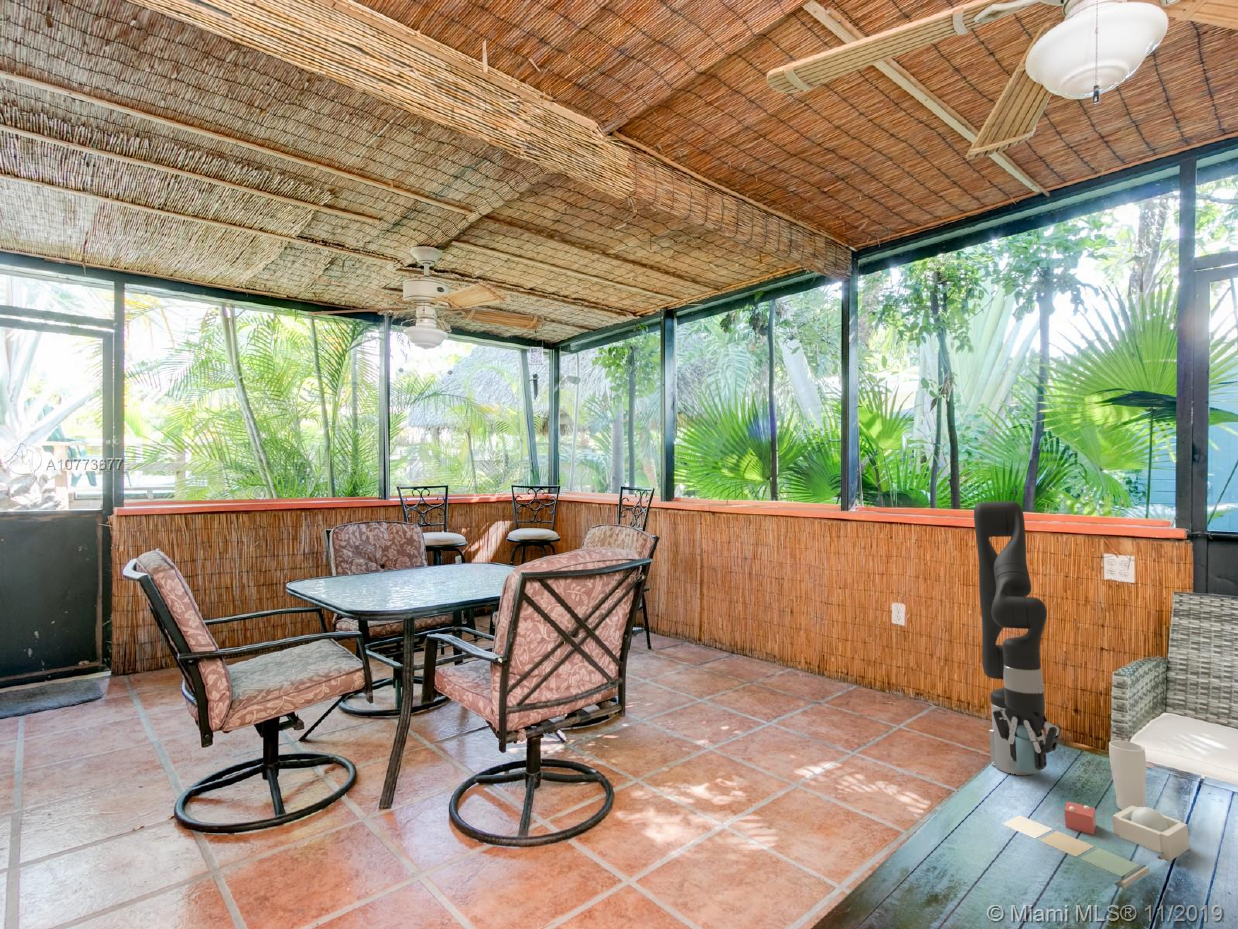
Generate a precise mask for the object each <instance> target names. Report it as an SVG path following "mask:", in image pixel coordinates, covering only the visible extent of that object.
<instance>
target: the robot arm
mask: <svg viewBox="0 0 1238 929" xmlns="http://www.w3.org/2000/svg"><path fill="white" fill-rule="evenodd" d="M973 523H974V531H975V538H976V545H977V547H976V548H977V554H978V555H977V556H978V582H979V583H978V585H979V586H978V587H979V591H978V592H979V604H980V613H981V625H982V626H981V631H982V632H981V633H982V634H981V636H982V637H981V639H982V640H981V661H982V663H981V664H982V665H981V666H982V670H983V673H984V674H985V676H986V677H988V678H990V679H995V680H1003V687H1002V688H997V689H994V690H992V691H991V693H990V708H991V710H990V711H991V722H992V724H991V725H992V728H991V729H990V730H988V732H989V747H990V762H991V763H992V762H993V761H994V763H993V764H995V765H993V764H992V766H994V767H995V768H996V769H998V770H1000V771H1001V772H1003V773H1007V774H1010V773H1011V775H1014V774H1016V775H1015V776H1030V775H1032V774H1031V773H1026V772H1022V771H1020V770H1019V769H1017V758H1016V743H1015V736H1016V735H1017V734H1016V729H1017V727H1018V725H1024V726H1025V727H1026V729H1027V731H1028V734H1029V737H1030V740H1031V741H1032V742H1033V745H1034V748H1035V750H1036V752H1035V766H1036V769H1038V770H1041V771H1043V769H1045V768H1046V767H1047V765H1048V763H1047V761H1048V760H1047V754H1049V753H1051V752H1054V751H1056V750H1057V746H1058V742H1059V739H1060V735H1061V732H1062V728H1061V726H1060V725H1058V724H1056V725H1055V724H1052V723H1050V722H1048V719H1047V717H1046V714H1045V710H1046V704H1045V702H1046V701H1045V685H1044V678H1043V673H1042V667H1041V666H1042V665H1041V652H1040V651H1041V641H1042V635H1043V632H1044V629H1045V628H1044V627H1045V624H1046V622H1047V621H1046V620H1047V616H1048V611H1047V610H1048V609H1047V607H1046V605H1045V603H1044V602H1043V601H1042V600H1041V599H1039V598H1038V597H1034V596H1033V597H1032V596H1029V595H1030V594H1031V591H1032V583H1031V579H1030V574H1029V570H1028V569H1029V568H1028V564H1027V543H1026V542H1027V540H1026V526H1025V516H1024V511H1023V508H1022V506H1021V505H1020V503H1019V502H1016V501H1010V500H1009V501H1007V500H1006V501H982V502H978V503H976V504H975V506H974V509H973ZM1003 537H1004V538H1006V537H1007V538H1008V537H1009V538H1010V539H1009V541H1008V542H1007V544H1006V545H1005V546H1004V547H1003V549H1002V550H1001V551H1000V552H999V553H997V552H996V550H995V548H994V547H993V545H992V542H991V540H990V538H1003ZM1005 628H1006V629H1022V630H1023V629H1025V630H1027V632H1026V633H1025V634H1024V635H1021V636H1017V637H1010V638H1009V637H1008V638H1006V639H1004V641H1003V642H1002V644H997V640H998V638H999V636H1000V634H1001V632H1002V630H1003V629H1005ZM1044 728H1045V733H1046V734H1047V735H1046V737H1045V733H1044V731H1043V729H1044ZM1036 734H1037V736H1036Z"/></svg>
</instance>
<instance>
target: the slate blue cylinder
mask: <svg viewBox="0 0 1238 929" xmlns="http://www.w3.org/2000/svg"><path fill="white" fill-rule="evenodd" d="M1016 734H1017V735H1016V736H1015V743H1016V758H1017V769H1019V770H1020V771H1022V772H1026V773H1031V775H1033V774H1034V775H1036V774H1040V773H1041V771H1042V770H1038V769H1036V766H1035V752H1036V750H1035V748H1034V745H1033V742H1032V741H1031V740H1030V737H1029V734H1028V731H1027V729H1026V727H1025V726H1024V725H1018V727H1017V729H1016ZM1036 736H1037V734H1036Z"/></svg>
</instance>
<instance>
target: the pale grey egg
mask: <svg viewBox="0 0 1238 929" xmlns="http://www.w3.org/2000/svg"><path fill="white" fill-rule="evenodd" d="M1161 814H1162V813H1160V812H1159V811H1158V810H1156V809H1154V808H1151V807H1149V806H1146V807H1139V808H1137V809H1135V810H1134V811H1133V813H1132V816H1131V821H1132V822H1135V823H1137V824H1140V825H1143V826H1146V827H1148V828H1151V829H1154V830H1156V831H1159V832H1164V831H1166V830H1167V829H1168V825H1167V822H1166V820H1165V818H1164V817H1163V816H1162V815H1163V814H1162V815H1161Z"/></svg>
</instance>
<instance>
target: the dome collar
mask: <svg viewBox="0 0 1238 929" xmlns="http://www.w3.org/2000/svg"><path fill="white" fill-rule="evenodd" d="M1137 808H1139V807H1136V806H1133V805H1132V806H1130V807H1128V808H1126V809H1124V810H1120V811H1118V812H1116V813H1115V814H1113V815H1112V830H1113V834H1115V835H1118V837H1119V838H1121V839H1125V841H1126V840H1127V841H1129V842H1132V843H1134V844H1137V845H1139V846H1142V847H1144V848H1147V849H1150V850H1152V851H1155V852H1157V853H1160V855H1158V856H1157V857H1156V859H1159V860H1163V859H1164V860H1166V861H1168V862H1171V861H1173V860H1174V859H1177V857H1179V856H1180V855H1182V854H1183V853H1185V852H1186V851H1188V850H1189V849H1190V844H1189V843H1190V842H1189V831H1188V830H1189V829H1188V824H1187V823H1184V822H1182V821H1181V820H1179V819H1176V818H1174V817H1170V816H1167V815H1164V814H1162V813H1160V814H1161V815H1162V816H1163V817H1164V818H1165V820H1166V822H1167V825H1168V829H1167V830H1166V831H1164V832H1159V831H1156V830H1154V829H1151V828H1148V827H1146V826H1143V825H1140V824H1137V823H1135V822H1132V821H1131V816H1132V813H1133V811H1134V810H1135V809H1137Z"/></svg>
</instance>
